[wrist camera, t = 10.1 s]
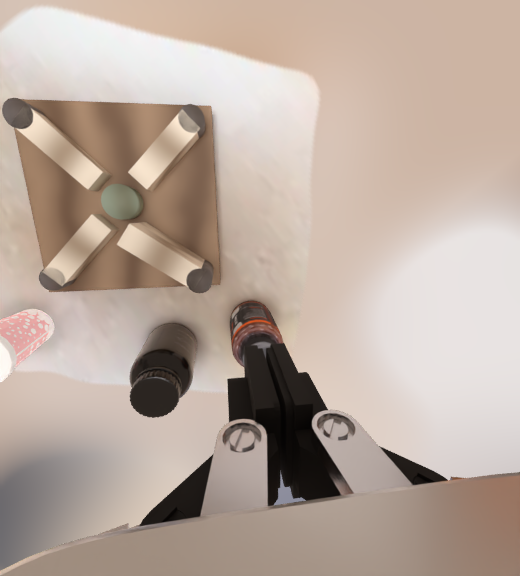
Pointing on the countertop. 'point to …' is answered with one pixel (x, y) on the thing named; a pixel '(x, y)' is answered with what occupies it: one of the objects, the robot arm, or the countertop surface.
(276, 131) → the countertop surface
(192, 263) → the hinged leg
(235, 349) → the supplement bottle
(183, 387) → the supplement bottle
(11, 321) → the beverage cup
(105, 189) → the stool seat
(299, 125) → the countertop surface
